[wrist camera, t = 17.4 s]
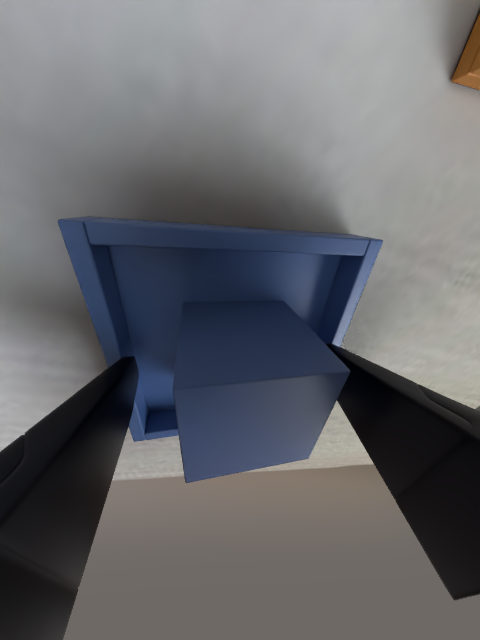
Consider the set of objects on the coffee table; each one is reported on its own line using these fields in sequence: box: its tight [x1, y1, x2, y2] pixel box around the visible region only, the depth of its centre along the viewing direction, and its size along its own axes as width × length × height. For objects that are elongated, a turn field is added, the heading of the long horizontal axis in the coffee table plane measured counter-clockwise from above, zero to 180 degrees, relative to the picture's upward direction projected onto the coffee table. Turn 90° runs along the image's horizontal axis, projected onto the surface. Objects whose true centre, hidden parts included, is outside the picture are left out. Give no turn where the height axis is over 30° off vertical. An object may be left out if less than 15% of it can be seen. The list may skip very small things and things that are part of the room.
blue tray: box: [58, 217, 383, 442], centre depth 9 cm, size 10×10×2 cm
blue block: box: [172, 301, 350, 483], centre depth 8 cm, size 4×4×4 cm
